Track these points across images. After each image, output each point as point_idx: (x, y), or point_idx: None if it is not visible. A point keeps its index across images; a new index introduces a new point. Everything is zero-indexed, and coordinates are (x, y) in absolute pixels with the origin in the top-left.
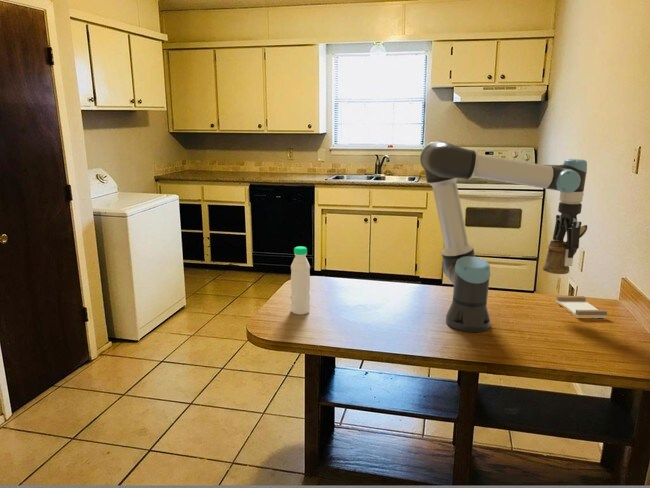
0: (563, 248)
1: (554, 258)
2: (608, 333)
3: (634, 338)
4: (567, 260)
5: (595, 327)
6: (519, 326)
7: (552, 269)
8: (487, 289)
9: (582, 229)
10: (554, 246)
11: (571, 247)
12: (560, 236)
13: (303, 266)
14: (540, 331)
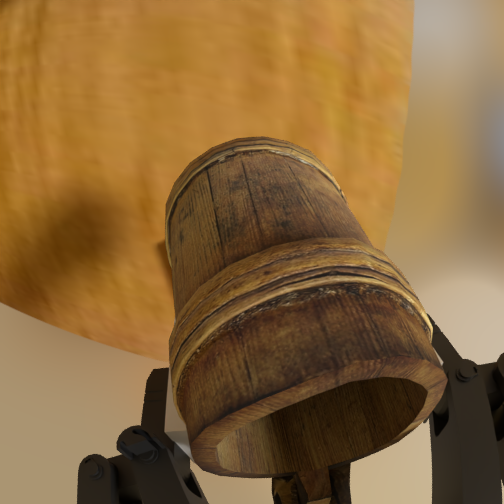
0: (181, 414)
1: (182, 249)
2: (97, 286)
3: (95, 328)
4: None
5: (126, 267)
6: (67, 39)
7: (176, 195)
8: None
9: None
10: (212, 349)
11: (84, 467)
12: (448, 462)
13: None
14: (44, 101)
